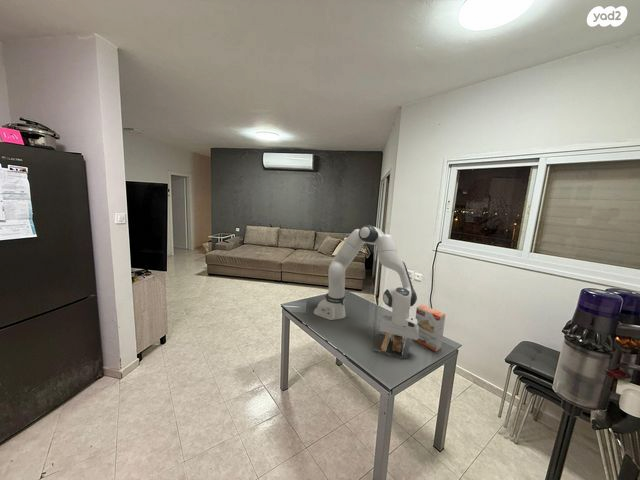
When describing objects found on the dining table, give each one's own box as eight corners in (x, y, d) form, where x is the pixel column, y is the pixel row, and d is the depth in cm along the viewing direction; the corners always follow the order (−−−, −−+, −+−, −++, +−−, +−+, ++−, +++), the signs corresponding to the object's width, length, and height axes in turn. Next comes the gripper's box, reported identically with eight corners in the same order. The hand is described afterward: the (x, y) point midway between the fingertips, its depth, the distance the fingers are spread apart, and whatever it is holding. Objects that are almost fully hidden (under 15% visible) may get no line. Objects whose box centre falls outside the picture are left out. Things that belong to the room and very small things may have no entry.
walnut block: (392, 350, 131) (393, 339, 129) (394, 342, 138) (395, 331, 136) (400, 352, 129) (401, 341, 128) (401, 344, 136) (402, 333, 135)
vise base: (373, 351, 131) (373, 345, 131) (380, 333, 148) (380, 328, 148) (406, 360, 125) (406, 354, 124) (409, 341, 142) (410, 336, 141)
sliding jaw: (381, 351, 131) (381, 346, 131) (386, 336, 145) (386, 331, 145) (386, 352, 130) (386, 347, 130) (390, 337, 144) (391, 332, 144)
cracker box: (412, 339, 143) (416, 306, 139) (418, 336, 147) (422, 304, 143) (435, 352, 132) (440, 316, 128) (441, 348, 135) (446, 313, 132)
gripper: (379, 316, 132) (377, 339, 134) (420, 325, 124) (417, 350, 126) (381, 311, 137) (379, 334, 140) (420, 320, 129) (417, 344, 132)
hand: (397, 342), depth 133 cm, fingers closed on walnut block, 4 cm apart
